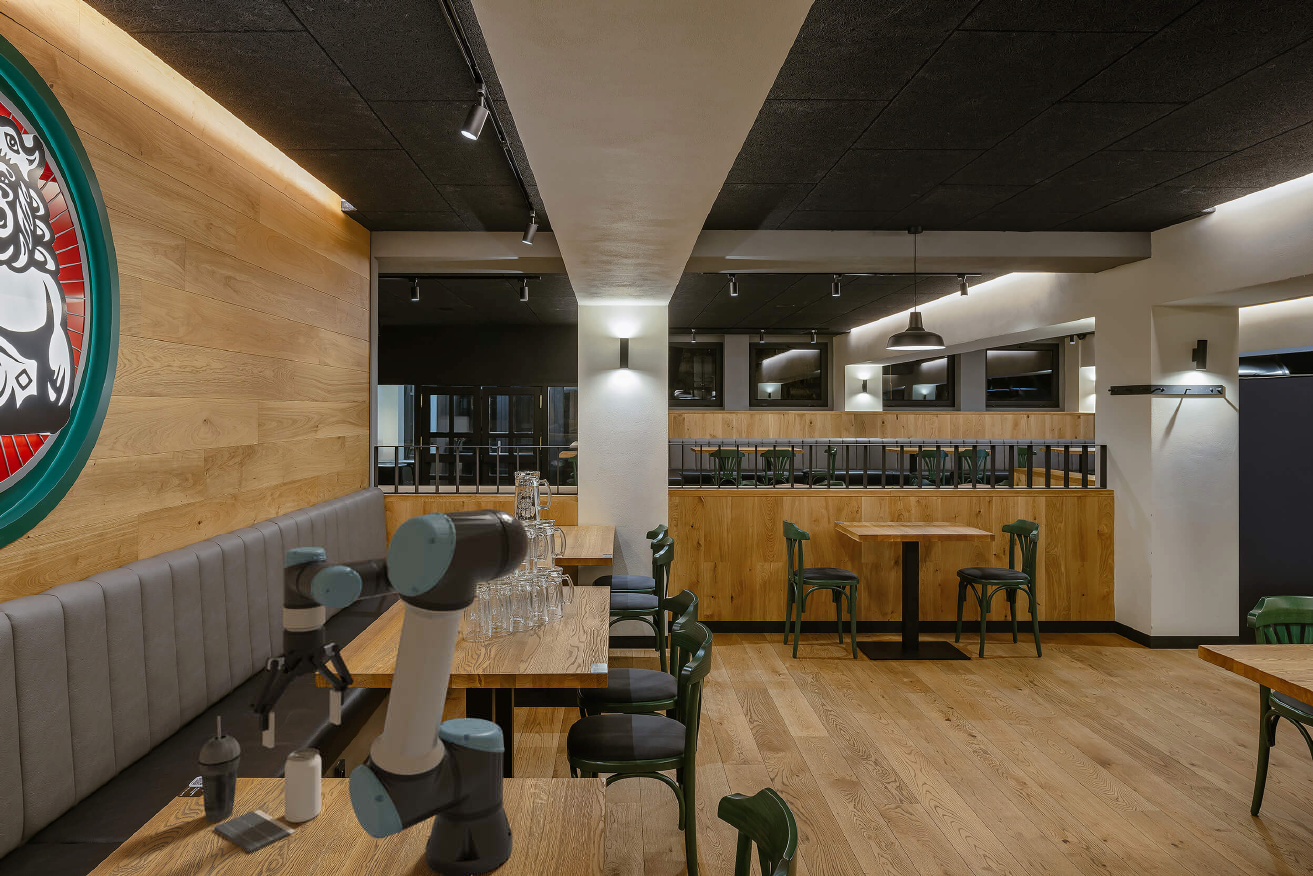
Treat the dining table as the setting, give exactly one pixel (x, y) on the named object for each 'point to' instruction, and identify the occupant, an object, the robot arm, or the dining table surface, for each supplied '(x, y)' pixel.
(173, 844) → the dining table surface
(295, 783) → the can
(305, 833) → the dining table surface
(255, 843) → the dark grey flat slab
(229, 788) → the beverage cup
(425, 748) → the robot arm
